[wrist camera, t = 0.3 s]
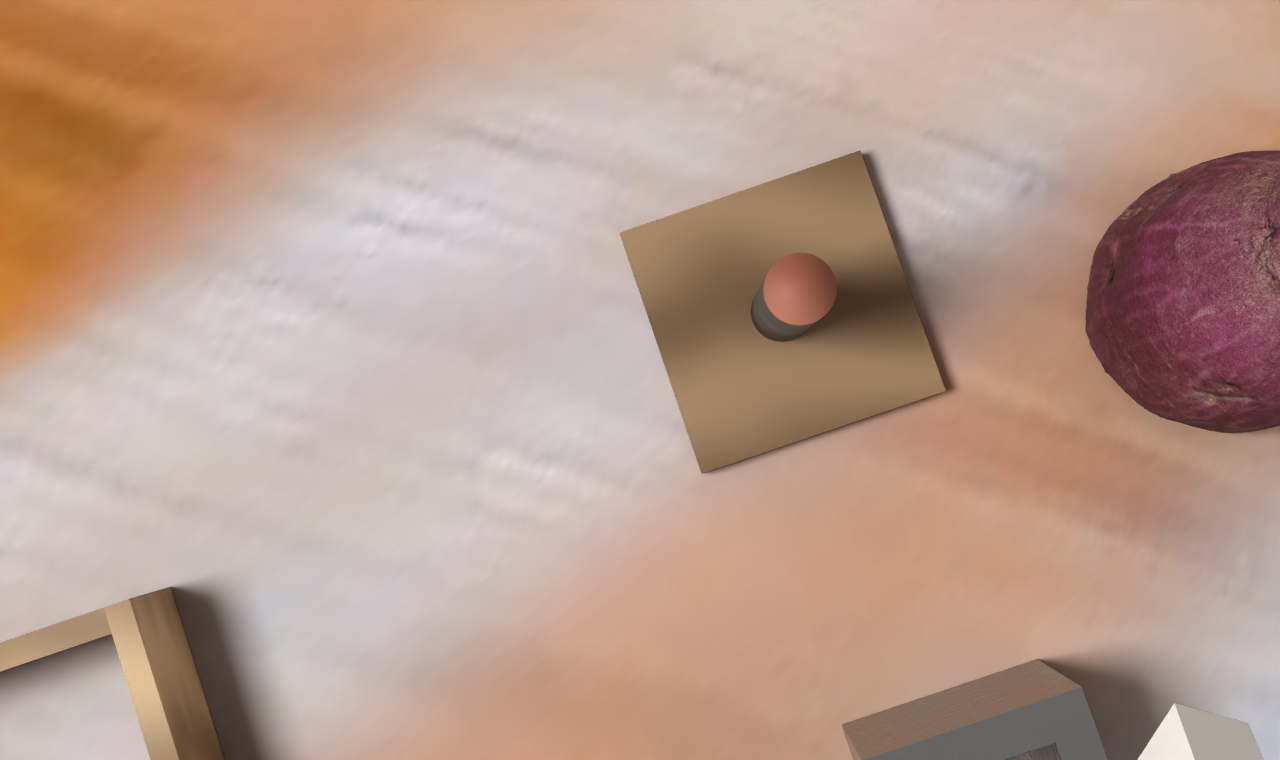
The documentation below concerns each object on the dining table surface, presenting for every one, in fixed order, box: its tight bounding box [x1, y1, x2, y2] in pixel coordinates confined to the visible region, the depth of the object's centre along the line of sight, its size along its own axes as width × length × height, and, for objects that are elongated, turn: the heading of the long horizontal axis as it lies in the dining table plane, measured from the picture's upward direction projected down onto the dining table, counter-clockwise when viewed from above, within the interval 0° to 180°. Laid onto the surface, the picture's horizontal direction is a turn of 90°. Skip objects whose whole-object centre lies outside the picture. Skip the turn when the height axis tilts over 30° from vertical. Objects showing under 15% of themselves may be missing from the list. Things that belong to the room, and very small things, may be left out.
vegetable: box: [1086, 151, 1280, 433], centre depth 40 cm, size 10×10×15 cm
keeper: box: [620, 151, 946, 473], centre depth 42 cm, size 10×10×8 cm
